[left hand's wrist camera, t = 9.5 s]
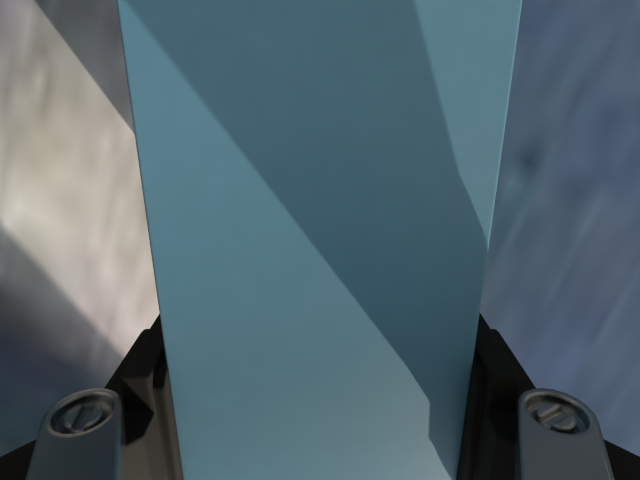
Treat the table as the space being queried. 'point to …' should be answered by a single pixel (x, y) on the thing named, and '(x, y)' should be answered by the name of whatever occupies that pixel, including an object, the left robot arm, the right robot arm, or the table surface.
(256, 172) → the cabinet
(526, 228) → the table surface
